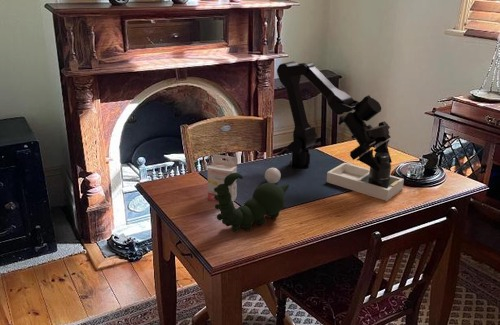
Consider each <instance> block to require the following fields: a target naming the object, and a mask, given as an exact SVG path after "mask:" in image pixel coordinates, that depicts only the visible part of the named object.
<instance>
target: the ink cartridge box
mask: <svg viewBox="0 0 500 325" xmlns="http://www.w3.org/2000/svg"><path fill="white" fill-rule="evenodd" d="M223 159H225V160H223ZM212 161H213V162H212V163H211V164H210V165H209V166H207V200H208V201H212V202H215V203H216V202H218V201H217V200H215V198H214V196H215V195H218V194H217V192H215V191H214V188H215V187H217V186H218V185H220V184H224V179H225V177H226V176H228V175H229V174H231V173H238V169H237V168H238V166H237V158H236V157H234V156H230V155H229V156H228V155H222V154H213V155H212ZM237 180H238V179H237ZM237 180H235V181H234V183H233V184H231V185H230V186H228V188H229V193H230V194H231V200H232V201H233V203H234V202H235V200H236V199H237V198H238V197H237V196H238V195H237V193H238V192H237V191H238V186H237ZM218 203H219V202H218Z"/></svg>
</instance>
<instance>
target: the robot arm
mask: <svg viewBox="0 0 500 325" xmlns="http://www.w3.org/2000/svg"><path fill="white" fill-rule="evenodd" d="M276 73H277V76H278V80H279V82H280V83H281V84H282V86H283V87H284V89H285V90H286V94H287V99H288V102H289V108H290V111H291V116H292V120H293V124H294V128H293V132H292V138H293V139H292V140H293V141H291V143H289V144H288V145H287V149H288V152H290V153H291V157H290V161H289V163H290V166H291V168H292V169H298V168H299V169H305V168H306V169H309V168H310V166H309V165H310V164H311V154H310V151H309V150H311V149H312V148H313V146H314V145H315V144H316V142H317V137H318V135H317V132H316V127H315V126H311V124H310V123H309V122H308V118H307V114H306V109H305V105H304V100H303V95H302V91H301V88H300V84H301V83H300V82H301V78H302V76H304V77H305V78H306V79H307V80H308V81H309V82H310V83H311V84H312V85H313V87H315V88H316V89H317V90H318V91H319V92H320V94H322V96H323V97H324V98H325V100H326V101H327V102H326V103H327V106H328V107H329V108H330V110H331V111H332V112H333V113H334V114H335V115H341V116H339V118H338V125H339V126H341V125H343V124H344V125H345V126H346V128H347V129H348V131H350V133H351V136H350V138H351V139H352V140H354V139H355V141H356V142H357V143H358V145H357V147H355V148H354V149H352V150H351V151H350V152H349V155H350V156H349V157H351V159H352V160H353V161H354V160H356V162H357V161H358V162H361V163H362V164H365V165H366V166H368V167H369V168H370V167H372V168H373V169H375V170H377V171H379V170H380V167H379V165H378V163H377V162H376V160H375V158H374V157H375V155H373V154H374V152H375V153H377V152H384V153H387V154H389V155H390V151H389V147H388V146H389V142H390V138H391V135H390V130H389V129H390V128H391V126H390V125H389V124H388V123H387V122H386V121H381V122H379V123H378V125H377V126H374V127H373V126H372V125H371V124H367V123H366V122H369V121H370V120H371V119H372V118H374V117H375V116H376V115H378V114H379V113H380V112H382V106H381V104H380V102H379V101H378V100H377V99H376V98H375V99H374V98H373V97H371V96H370V94H368V95H365V97H363V98H362V99H361V100H360V101H358V100H356V99H353V97H352V96H351V95H349V94H348V93H346V91H343V90H340V89H339V88H337V87H336V86H334V85H333V83H332V82H331V81H330V80H329V79H328V78H327V77H325V75H324V74H323V72H321V71H320V70H319V69H318V68H317V67H316V66H315V64H314V63H312V62H304V63H302V62H301V63H297V62H296V61H287V62H284V63H280V64H279V65H278V67H277V69H276ZM352 111H353V112H352ZM343 114H345V115H343ZM388 162H390V164H392V163H393V161H392V157H391V155H390V156H389V161H388Z"/></svg>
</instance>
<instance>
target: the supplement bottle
mask: <svg viewBox="0 0 500 325" xmlns="http://www.w3.org/2000/svg"><path fill="white" fill-rule="evenodd" d="M389 154H390V153H389ZM389 154H387V153H384V152H377V153H376V152H375V153H374V158H375V160H376V162H377V163H378V165H379V167H380V170H379V171H377V170H375V169H373V168H372V167H370V166H369V169H370V172H369V180H368V183H370V184H373V185H376V186H380V187H383V188H386V189H387V188H388V186H389V179H390V175H391V171H392V163H390V162H388V161H389V156H390V157H391V155H389Z"/></svg>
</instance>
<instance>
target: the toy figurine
mask: <svg viewBox="0 0 500 325" xmlns="http://www.w3.org/2000/svg"><path fill="white" fill-rule="evenodd" d="M238 179H240V180H242V179H244V177H243V175H242V174H241V173H239V172H237V173H231V174H229V175H228V176H226V177H225V179H224V184H220V185H218V186H217V187H215V188H214V191H215V192H217V194H218V195H215V196H214V198H215V200H217V201H218V203H216V204H215V205H214V207H215V209H216V210H219V211H220V213H218V214H217V215H216V219H217V221H221V222H222V224H223V225H225V226H226V227H230V226H231V228H232V231H234V232H235V233H236V232H238V231H240V228H244V229H245V230H246V231H247V232H248V231H249V232H250V231H253V224H254V223H257V224H258V225H259V226H264V225H265V224H266V222H267V221H266V218H265V217H266V216H267V217H269V218H271V219H276V218H278V217H279V215H280V212H281V211H282V210H284V209H285V203H286V197H285V194H286V192H287V191H288V188H289V187H290V184H283V185H278V184H277V183H269V182H266V183H262V184H260V185H259V186H257V187H256V188H255V190H254V191H253V194H252V198H249V199H248V200H246V202H245V203H244V204H243V205H241V206H240V205H239V207H237V208H236V207H235V206H234V205H235V204H234V202H233V201H232V200H231V194H230V193H229V188H228V186H230V185H231V184H233V183H234V181H235V180H238Z"/></svg>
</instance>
